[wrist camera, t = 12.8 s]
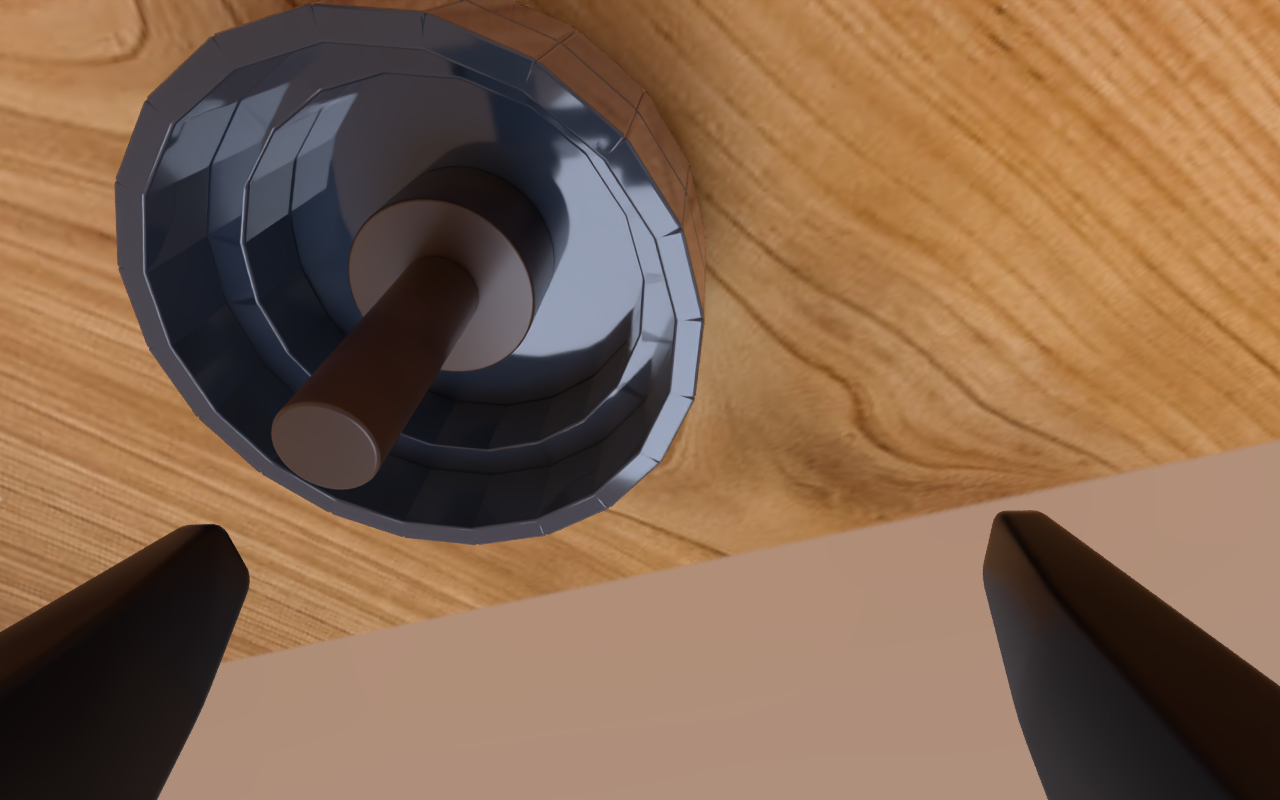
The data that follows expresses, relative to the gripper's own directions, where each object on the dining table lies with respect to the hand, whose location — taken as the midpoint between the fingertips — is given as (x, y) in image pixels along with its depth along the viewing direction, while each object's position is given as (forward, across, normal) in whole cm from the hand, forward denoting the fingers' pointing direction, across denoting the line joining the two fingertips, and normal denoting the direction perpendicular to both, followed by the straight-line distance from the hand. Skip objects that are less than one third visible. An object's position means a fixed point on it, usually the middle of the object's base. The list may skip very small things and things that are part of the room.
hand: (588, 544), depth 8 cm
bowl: (+12, +5, +1) cm, 13 cm away
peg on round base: (+11, +5, +1) cm, 12 cm away
